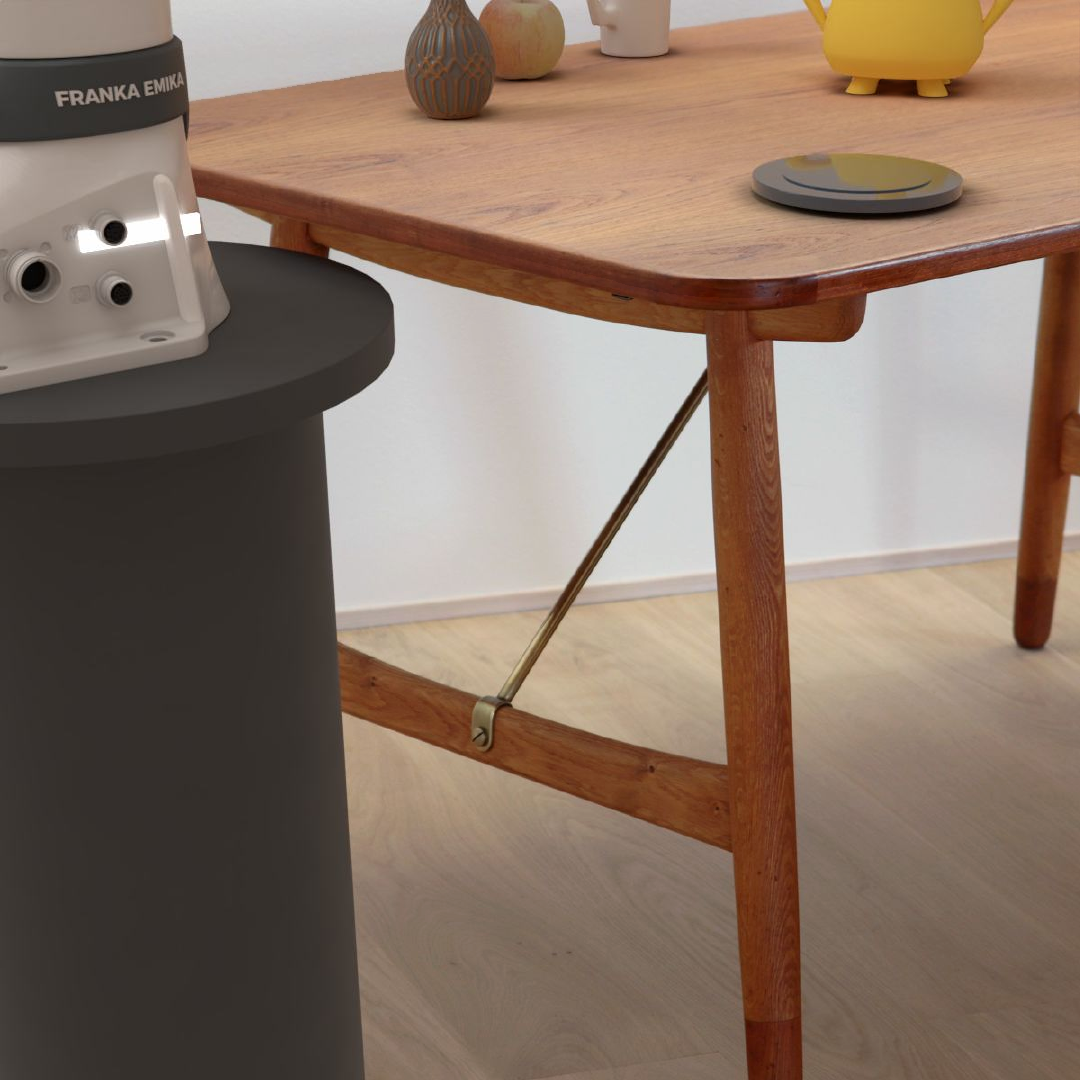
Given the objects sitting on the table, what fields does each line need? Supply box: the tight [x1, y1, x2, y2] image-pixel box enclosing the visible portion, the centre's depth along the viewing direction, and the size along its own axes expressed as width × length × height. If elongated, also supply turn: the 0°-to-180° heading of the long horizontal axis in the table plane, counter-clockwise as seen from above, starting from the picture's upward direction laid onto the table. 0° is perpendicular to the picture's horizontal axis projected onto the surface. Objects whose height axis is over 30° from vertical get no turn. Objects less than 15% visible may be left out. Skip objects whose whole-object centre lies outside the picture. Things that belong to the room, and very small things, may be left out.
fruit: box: [477, 0, 566, 80], centre depth 146 cm, size 8×7×8 cm
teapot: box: [802, 0, 1015, 98], centre depth 141 cm, size 14×14×12 cm
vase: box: [404, 0, 496, 120], centre depth 132 cm, size 7×7×9 cm
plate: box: [751, 152, 964, 214], centre depth 108 cm, size 13×13×1 cm
